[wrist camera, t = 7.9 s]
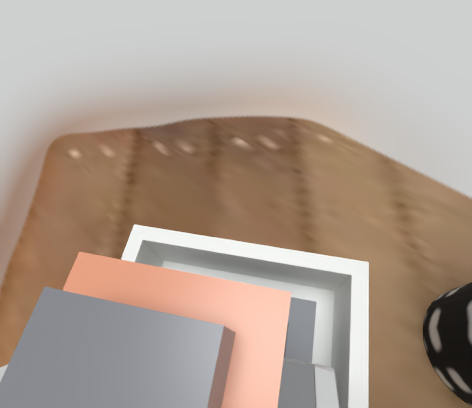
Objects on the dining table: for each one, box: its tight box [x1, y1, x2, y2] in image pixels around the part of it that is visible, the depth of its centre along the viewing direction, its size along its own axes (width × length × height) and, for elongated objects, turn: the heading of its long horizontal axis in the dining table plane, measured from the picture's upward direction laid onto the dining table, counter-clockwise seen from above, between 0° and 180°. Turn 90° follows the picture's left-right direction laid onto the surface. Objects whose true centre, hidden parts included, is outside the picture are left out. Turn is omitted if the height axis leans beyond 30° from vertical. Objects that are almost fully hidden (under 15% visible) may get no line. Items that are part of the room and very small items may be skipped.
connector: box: [0, 252, 292, 408], centre depth 8 cm, size 4×4×12 cm
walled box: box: [121, 225, 369, 408], centre depth 19 cm, size 16×16×6 cm
